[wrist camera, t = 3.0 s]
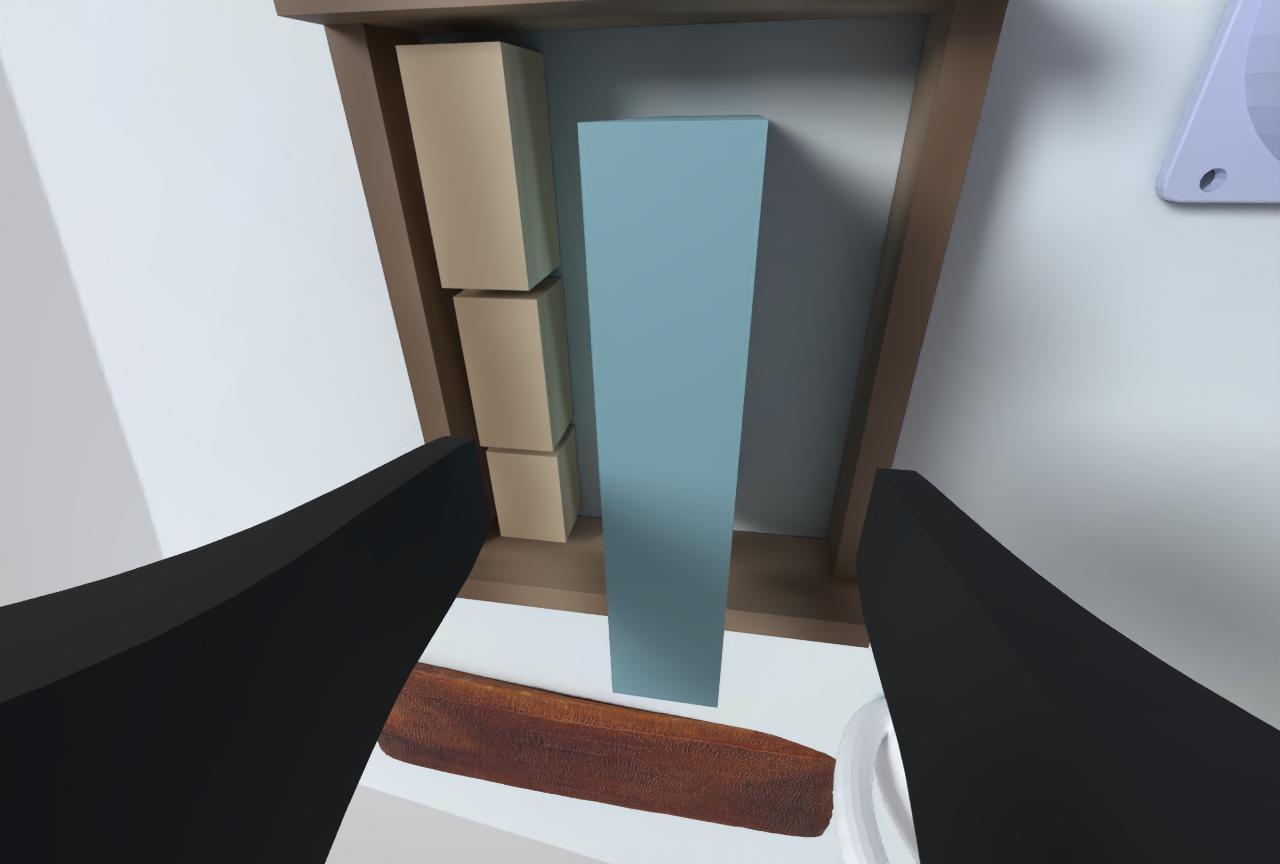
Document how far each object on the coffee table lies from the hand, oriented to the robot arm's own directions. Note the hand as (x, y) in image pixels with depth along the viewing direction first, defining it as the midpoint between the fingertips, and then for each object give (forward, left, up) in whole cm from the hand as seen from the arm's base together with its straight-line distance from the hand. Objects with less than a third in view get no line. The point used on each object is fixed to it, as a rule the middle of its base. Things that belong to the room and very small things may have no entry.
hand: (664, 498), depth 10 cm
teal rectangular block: (0, 0, -9) cm, 9 cm away
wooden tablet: (+5, +25, -10) cm, 27 cm away
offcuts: (+6, 0, -9) cm, 11 cm away
